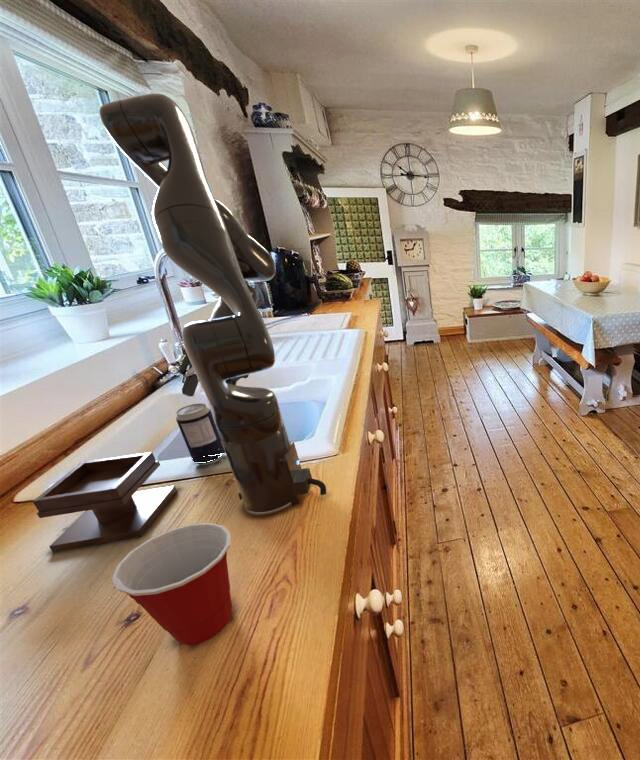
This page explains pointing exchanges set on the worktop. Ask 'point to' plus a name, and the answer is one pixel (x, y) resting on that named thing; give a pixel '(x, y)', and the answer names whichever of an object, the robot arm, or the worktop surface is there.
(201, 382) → the robot arm
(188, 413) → the beverage can
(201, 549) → the plastic cup
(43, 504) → the cup stand
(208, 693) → the worktop surface
